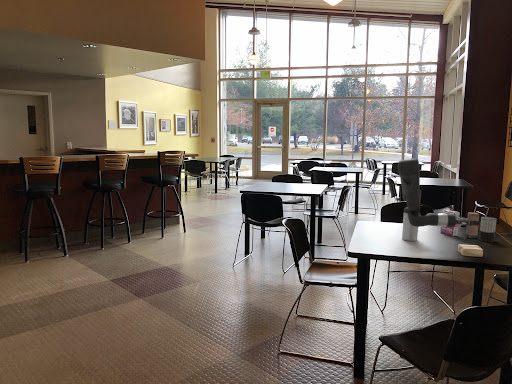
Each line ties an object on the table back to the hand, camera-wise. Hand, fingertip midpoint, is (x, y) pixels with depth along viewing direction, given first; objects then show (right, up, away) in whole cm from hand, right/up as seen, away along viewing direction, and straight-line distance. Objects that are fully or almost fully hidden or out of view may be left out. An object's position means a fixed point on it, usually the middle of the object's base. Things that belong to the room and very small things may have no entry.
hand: (477, 222), depth 232 cm
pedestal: (-3, -18, +3) cm, 18 cm away
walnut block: (-3, -7, +1) cm, 8 cm away
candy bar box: (+9, -12, +53) cm, 55 cm away
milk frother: (+23, -14, +40) cm, 49 cm away
